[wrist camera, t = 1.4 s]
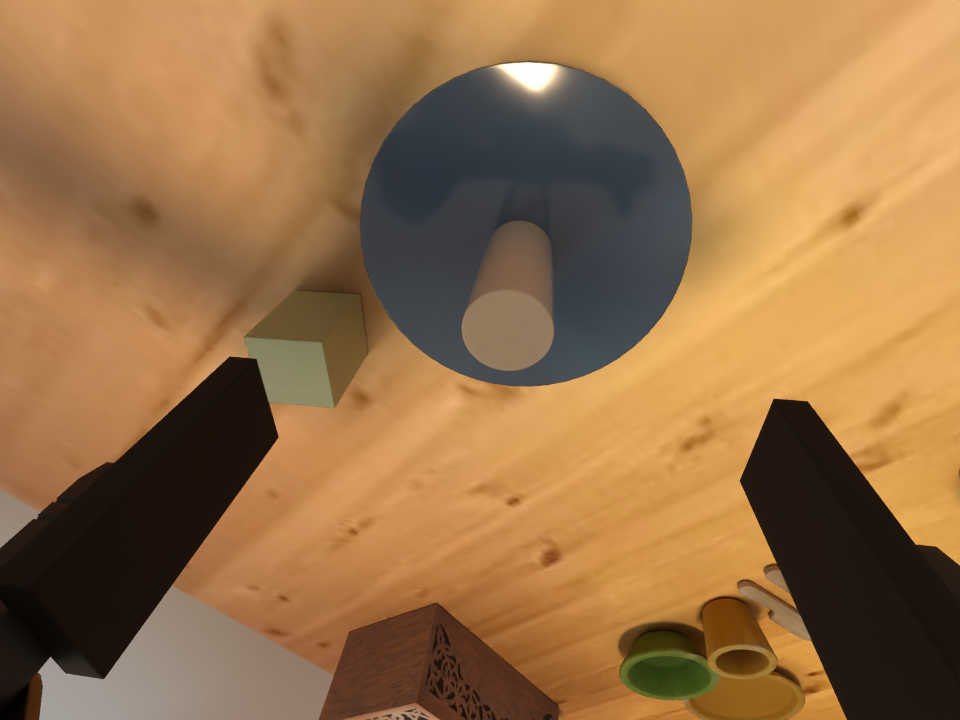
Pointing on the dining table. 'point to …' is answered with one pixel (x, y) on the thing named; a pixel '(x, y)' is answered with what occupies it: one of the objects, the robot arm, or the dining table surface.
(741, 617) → the tableware set
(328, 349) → the block
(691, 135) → the dining table surface
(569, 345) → the bowl lid
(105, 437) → the dining table surface
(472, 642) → the tissue box cover
